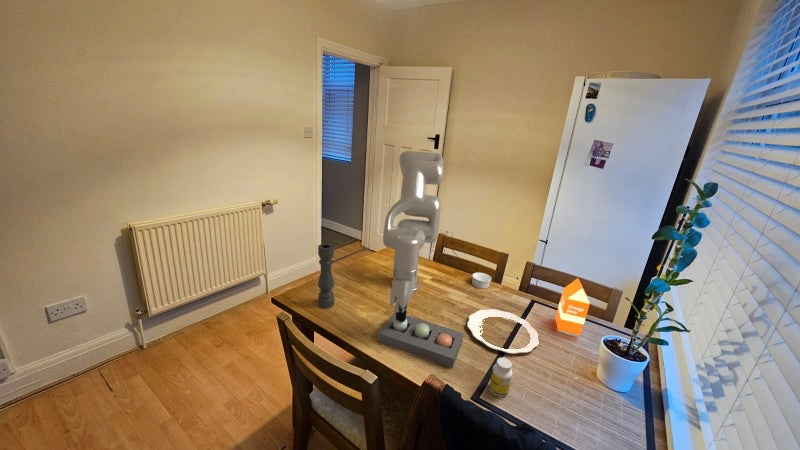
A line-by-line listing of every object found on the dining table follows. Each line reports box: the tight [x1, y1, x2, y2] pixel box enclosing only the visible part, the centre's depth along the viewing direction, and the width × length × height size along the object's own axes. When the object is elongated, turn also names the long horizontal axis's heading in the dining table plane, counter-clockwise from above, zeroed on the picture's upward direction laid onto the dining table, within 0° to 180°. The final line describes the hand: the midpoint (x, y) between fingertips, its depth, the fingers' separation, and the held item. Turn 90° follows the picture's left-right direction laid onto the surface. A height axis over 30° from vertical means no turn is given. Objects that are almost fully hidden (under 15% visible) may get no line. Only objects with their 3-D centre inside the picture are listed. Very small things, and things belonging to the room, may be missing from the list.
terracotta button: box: [437, 334, 452, 349], centre depth 104 cm, size 5×5×3 cm
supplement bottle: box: [488, 357, 513, 398], centre depth 89 cm, size 5×5×10 cm
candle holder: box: [317, 243, 335, 310], centre depth 121 cm, size 6×6×25 cm
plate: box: [466, 308, 540, 355], centre depth 116 cm, size 25×25×2 cm
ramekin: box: [471, 272, 492, 289], centre depth 149 cm, size 9×9×4 cm
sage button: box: [415, 323, 429, 340], centre depth 107 cm, size 5×5×3 cm
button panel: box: [377, 311, 465, 369], centre depth 107 cm, size 14×26×4 cm, turn 67°
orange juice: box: [555, 278, 591, 336], centre depth 118 cm, size 8×9×20 cm
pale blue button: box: [393, 318, 407, 332], centre depth 109 cm, size 5×5×3 cm
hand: (400, 319), depth 108 cm, fingers closed
